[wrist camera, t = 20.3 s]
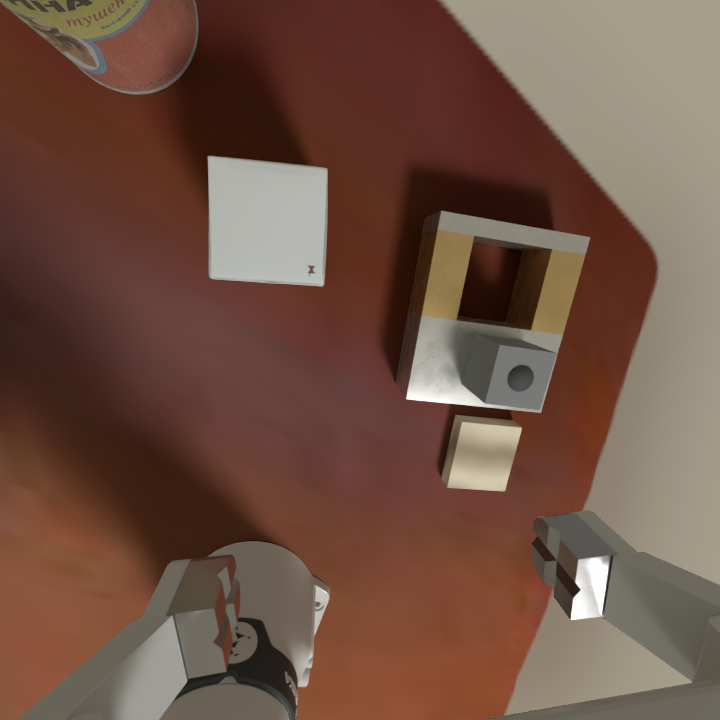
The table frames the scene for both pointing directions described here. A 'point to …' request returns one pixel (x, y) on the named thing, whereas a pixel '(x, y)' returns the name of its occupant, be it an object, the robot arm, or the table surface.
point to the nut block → (508, 371)
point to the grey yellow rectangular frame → (455, 333)
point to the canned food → (118, 38)
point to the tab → (480, 453)
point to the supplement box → (267, 221)
